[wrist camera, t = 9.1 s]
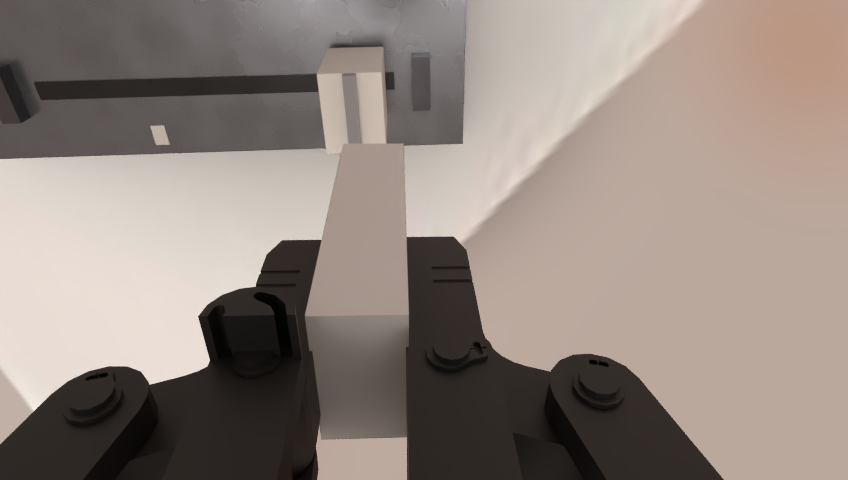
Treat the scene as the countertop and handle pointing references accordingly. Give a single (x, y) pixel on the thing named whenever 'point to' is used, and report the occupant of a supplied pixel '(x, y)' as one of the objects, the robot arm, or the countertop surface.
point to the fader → (353, 97)
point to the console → (215, 73)
